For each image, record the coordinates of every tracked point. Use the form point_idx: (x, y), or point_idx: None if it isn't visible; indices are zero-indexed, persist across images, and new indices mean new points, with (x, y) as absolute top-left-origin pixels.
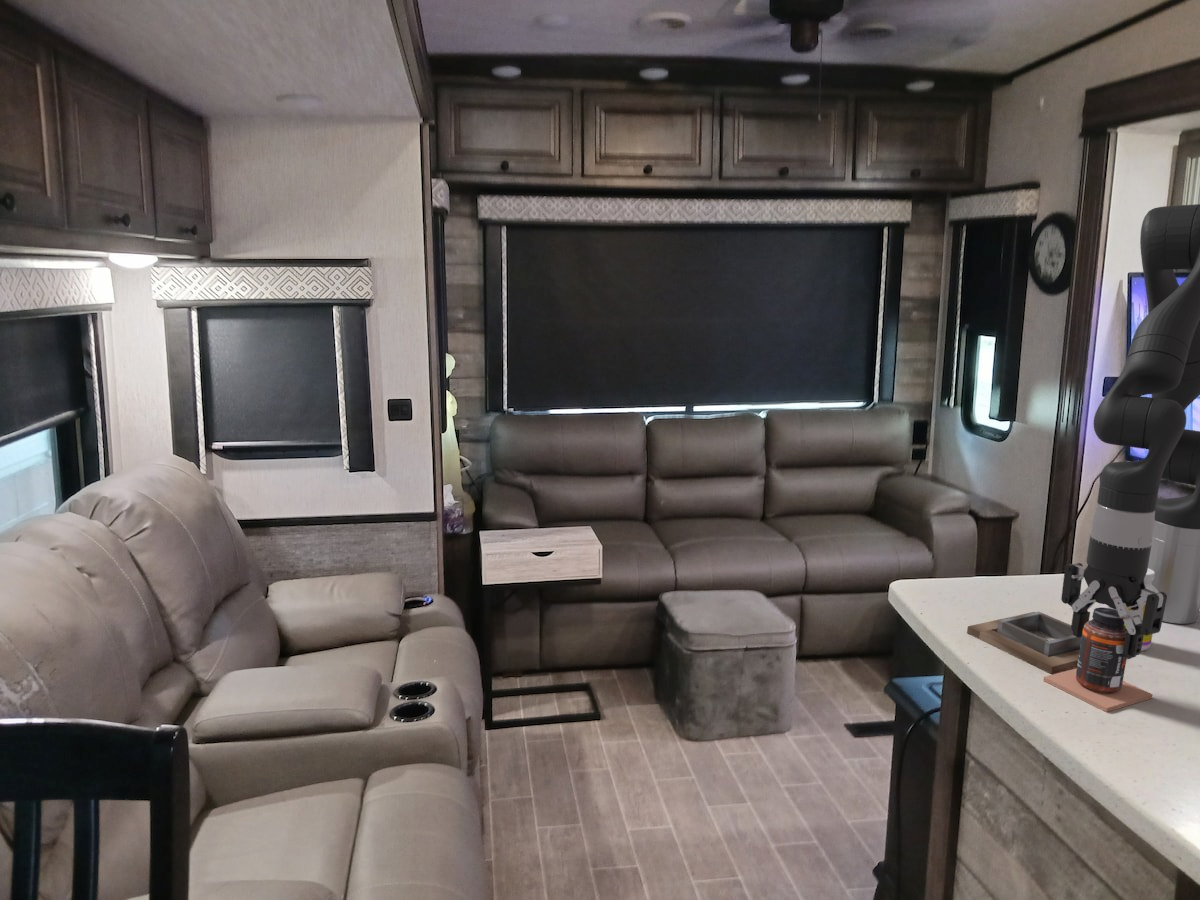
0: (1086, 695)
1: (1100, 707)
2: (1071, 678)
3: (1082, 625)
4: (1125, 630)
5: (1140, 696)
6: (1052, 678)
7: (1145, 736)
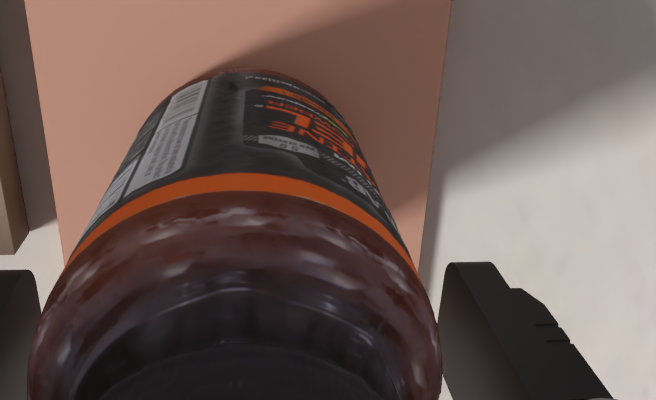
0: None
1: None
2: None
3: (6, 398)
4: (397, 355)
5: (432, 79)
6: None
7: (586, 332)
